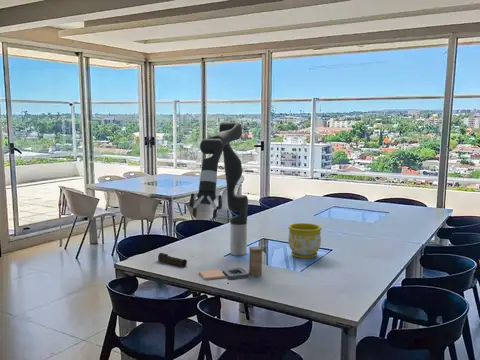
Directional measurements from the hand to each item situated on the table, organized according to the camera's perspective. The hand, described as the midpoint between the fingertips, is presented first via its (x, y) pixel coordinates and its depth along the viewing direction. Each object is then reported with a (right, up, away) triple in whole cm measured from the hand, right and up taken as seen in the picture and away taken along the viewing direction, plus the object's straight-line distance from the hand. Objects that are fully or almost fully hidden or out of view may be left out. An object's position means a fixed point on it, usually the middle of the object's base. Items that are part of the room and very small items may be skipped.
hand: (204, 217), depth 199 cm
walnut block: (+23, -29, +21) cm, 43 cm away
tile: (+2, -29, +18) cm, 34 cm away
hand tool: (-20, -27, +36) cm, 50 cm away
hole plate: (+14, -29, +19) cm, 38 cm away
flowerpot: (+51, -26, +53) cm, 78 cm away
